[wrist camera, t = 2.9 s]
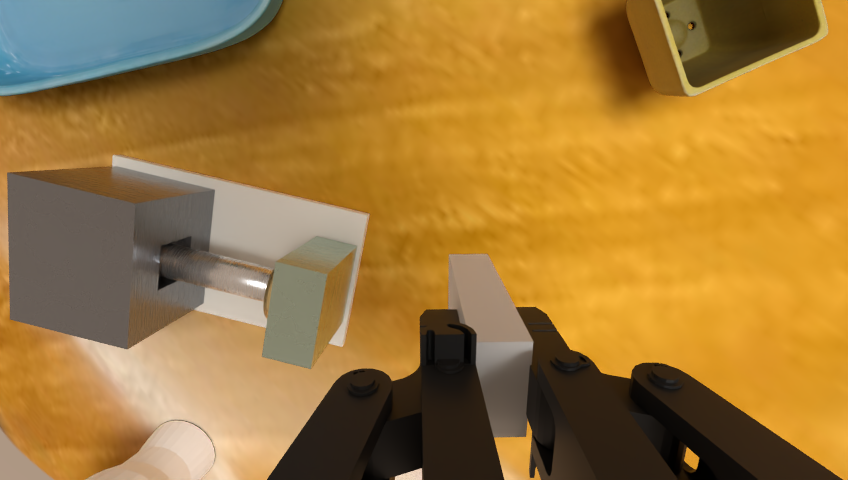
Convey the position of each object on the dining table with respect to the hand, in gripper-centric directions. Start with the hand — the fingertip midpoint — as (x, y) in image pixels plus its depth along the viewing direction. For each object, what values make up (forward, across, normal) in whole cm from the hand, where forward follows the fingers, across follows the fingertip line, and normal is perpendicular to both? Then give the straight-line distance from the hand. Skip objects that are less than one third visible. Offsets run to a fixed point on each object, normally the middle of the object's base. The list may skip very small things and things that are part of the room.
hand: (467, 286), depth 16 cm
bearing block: (+25, +28, +5) cm, 38 cm away
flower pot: (+23, -19, -13) cm, 32 cm away
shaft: (+24, +17, +7) cm, 30 cm away
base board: (+25, +20, +7) cm, 33 cm away
